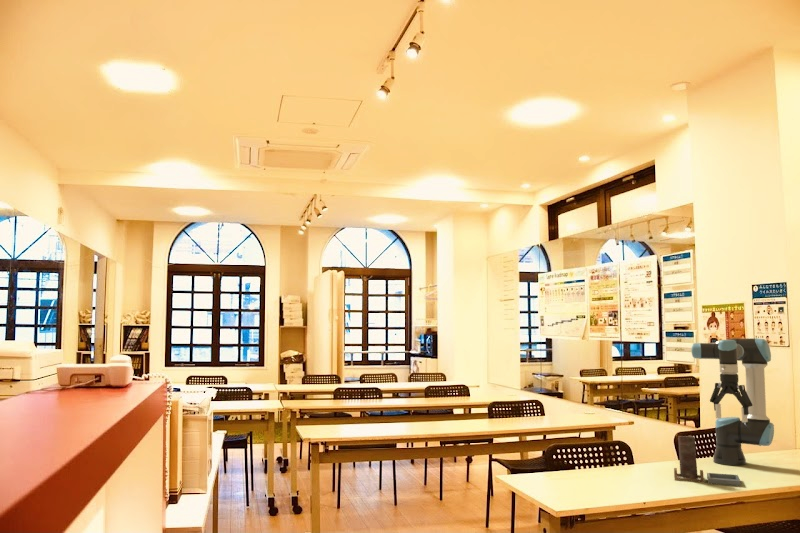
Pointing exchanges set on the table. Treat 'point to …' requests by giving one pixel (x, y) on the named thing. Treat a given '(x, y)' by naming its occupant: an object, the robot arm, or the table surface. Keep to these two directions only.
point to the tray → (723, 479)
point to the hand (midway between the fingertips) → (731, 420)
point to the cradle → (687, 478)
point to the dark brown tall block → (687, 457)
